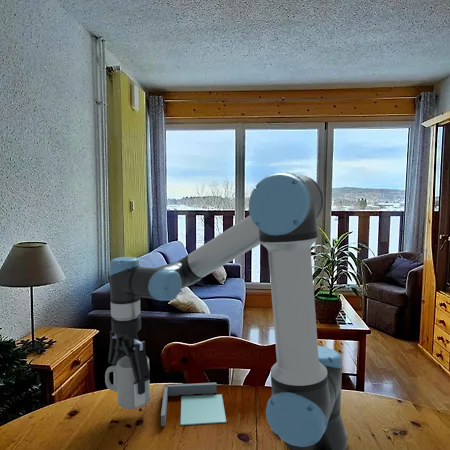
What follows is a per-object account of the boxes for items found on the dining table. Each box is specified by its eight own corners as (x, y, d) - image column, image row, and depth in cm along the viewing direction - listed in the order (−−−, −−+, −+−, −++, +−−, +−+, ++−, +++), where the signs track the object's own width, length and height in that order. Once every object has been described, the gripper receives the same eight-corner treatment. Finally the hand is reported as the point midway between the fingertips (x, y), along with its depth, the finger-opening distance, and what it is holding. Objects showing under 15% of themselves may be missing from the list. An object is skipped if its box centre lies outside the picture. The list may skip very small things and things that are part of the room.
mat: (221, 395, 110) (221, 394, 110) (226, 422, 98) (226, 421, 97) (181, 397, 109) (181, 396, 109) (180, 425, 96) (180, 424, 96)
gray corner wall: (216, 391, 112) (216, 382, 112) (220, 423, 97) (220, 412, 97) (164, 394, 111) (164, 385, 110) (161, 426, 96) (160, 415, 96)
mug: (153, 391, 104) (152, 354, 103) (145, 409, 95) (144, 369, 94) (111, 390, 105) (110, 353, 104) (99, 408, 96) (98, 368, 95)
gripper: (163, 322, 92) (165, 407, 94) (117, 304, 108) (120, 377, 110) (137, 330, 87) (140, 420, 89) (92, 310, 103) (96, 387, 105)
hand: (129, 396), depth 99 cm, fingers closed on mug, 10 cm apart
